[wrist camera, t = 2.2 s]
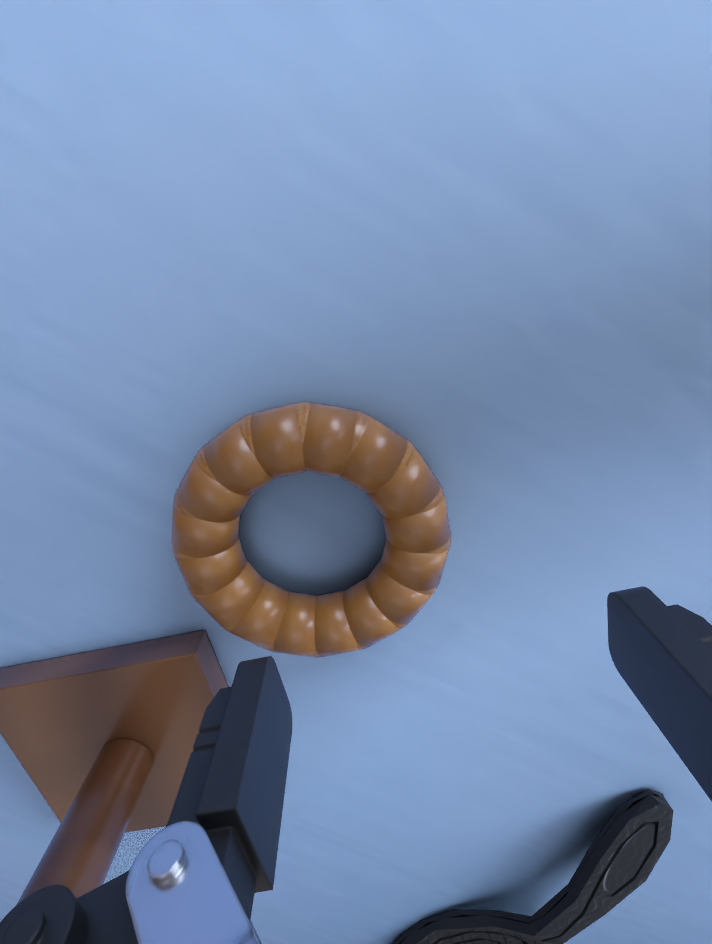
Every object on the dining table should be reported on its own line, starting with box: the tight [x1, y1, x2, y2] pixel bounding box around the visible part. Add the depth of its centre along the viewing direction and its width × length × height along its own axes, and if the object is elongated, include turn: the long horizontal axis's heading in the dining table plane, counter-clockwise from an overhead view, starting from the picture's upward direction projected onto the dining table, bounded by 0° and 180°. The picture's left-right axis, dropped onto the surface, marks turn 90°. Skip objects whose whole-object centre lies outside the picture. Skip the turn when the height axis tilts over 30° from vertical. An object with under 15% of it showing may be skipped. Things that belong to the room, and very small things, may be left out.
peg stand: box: [0, 630, 228, 905], centre depth 19 cm, size 10×10×10 cm
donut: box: [172, 402, 451, 657], centre depth 18 cm, size 10×10×2 cm
